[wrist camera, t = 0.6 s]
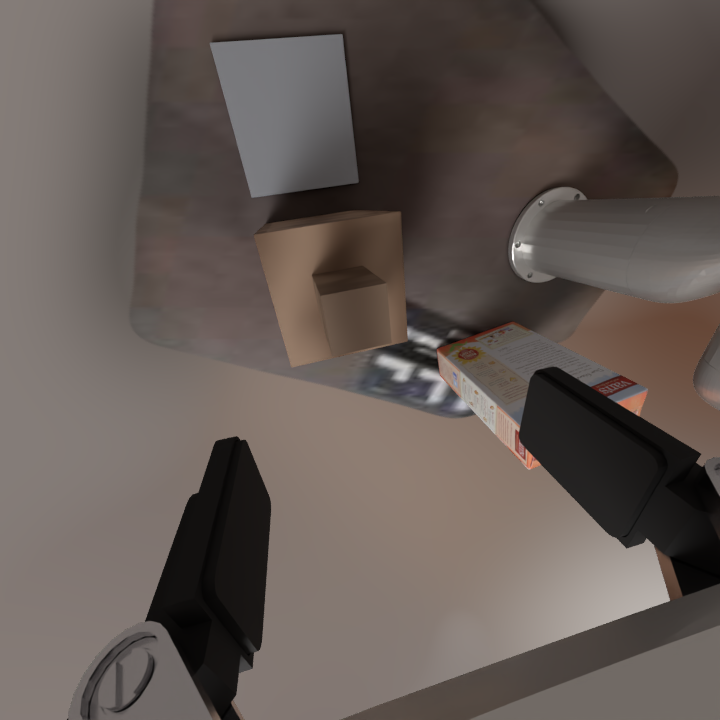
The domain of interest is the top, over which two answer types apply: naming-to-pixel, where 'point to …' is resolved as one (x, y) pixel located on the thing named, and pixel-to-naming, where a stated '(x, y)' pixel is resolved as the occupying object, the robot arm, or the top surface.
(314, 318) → the walnut cover
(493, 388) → the cracker box
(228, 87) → the slate mat
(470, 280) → the top surface
